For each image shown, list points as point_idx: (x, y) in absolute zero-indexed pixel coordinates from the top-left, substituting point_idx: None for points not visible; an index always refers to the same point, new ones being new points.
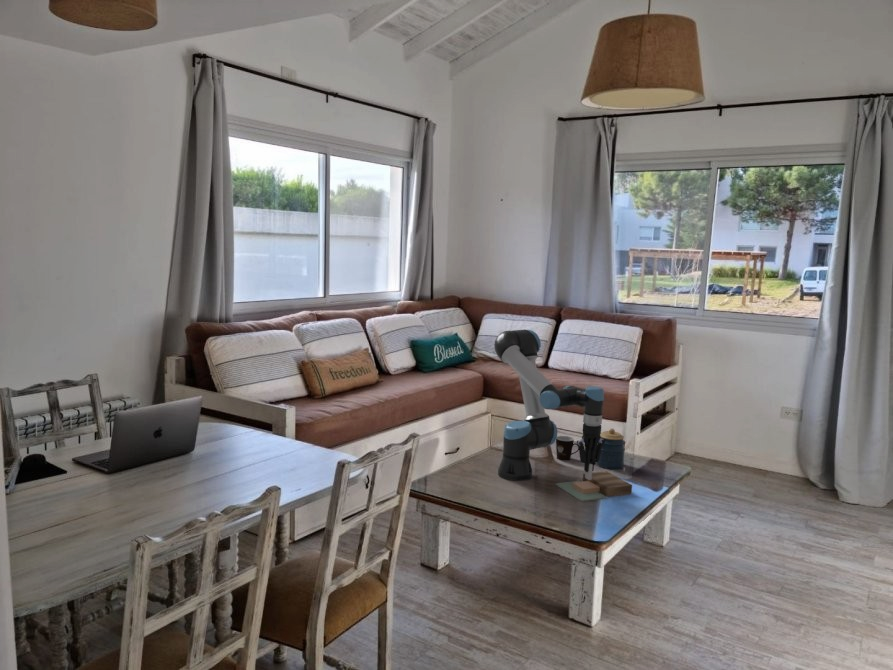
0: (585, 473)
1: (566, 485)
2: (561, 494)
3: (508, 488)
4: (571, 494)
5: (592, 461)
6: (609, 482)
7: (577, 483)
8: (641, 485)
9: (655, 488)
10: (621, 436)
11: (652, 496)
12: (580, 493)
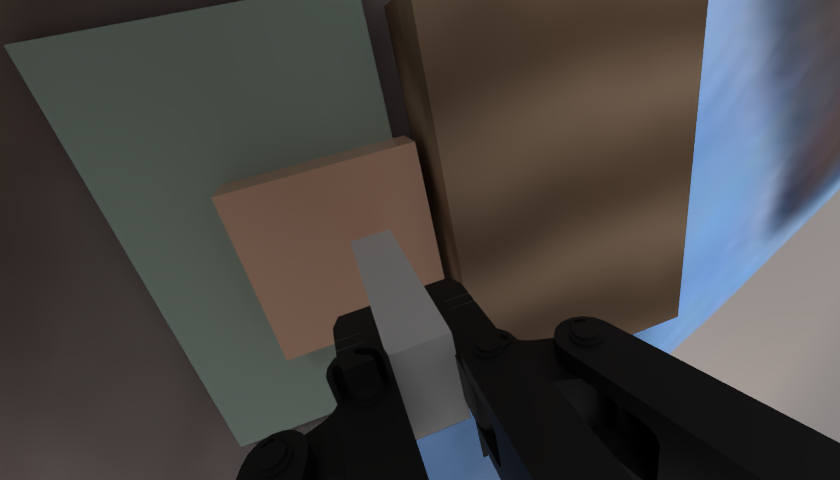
0: (359, 267)
1: (157, 131)
2: (77, 328)
3: None
4: (180, 335)
5: (490, 452)
6: (554, 279)
7: (263, 222)
8: (780, 123)
9: (807, 182)
10: None
11: (706, 305)
12: (265, 331)
